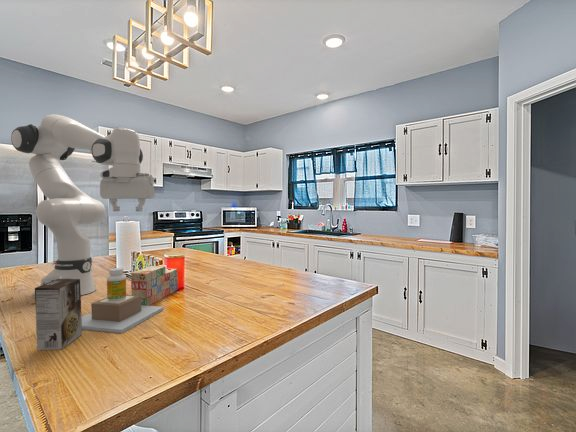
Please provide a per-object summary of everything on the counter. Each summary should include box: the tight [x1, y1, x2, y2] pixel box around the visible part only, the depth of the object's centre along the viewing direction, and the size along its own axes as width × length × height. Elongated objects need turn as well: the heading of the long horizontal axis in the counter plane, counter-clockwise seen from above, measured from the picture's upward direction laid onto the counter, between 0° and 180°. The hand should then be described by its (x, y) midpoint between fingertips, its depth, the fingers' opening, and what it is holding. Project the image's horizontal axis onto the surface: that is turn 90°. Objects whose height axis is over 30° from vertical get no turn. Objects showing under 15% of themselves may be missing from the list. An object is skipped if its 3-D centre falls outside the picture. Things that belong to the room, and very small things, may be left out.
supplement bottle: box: [106, 267, 127, 301], centre depth 100 cm, size 5×5×10 cm
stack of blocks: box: [130, 265, 179, 306], centre depth 123 cm, size 21×6×12 cm, turn 170°
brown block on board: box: [81, 294, 165, 334], centre depth 100 cm, size 20×20×6 cm
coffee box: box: [34, 279, 83, 351], centre depth 83 cm, size 9×6×16 cm
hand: (127, 211), depth 113 cm, fingers open, 8 cm apart
